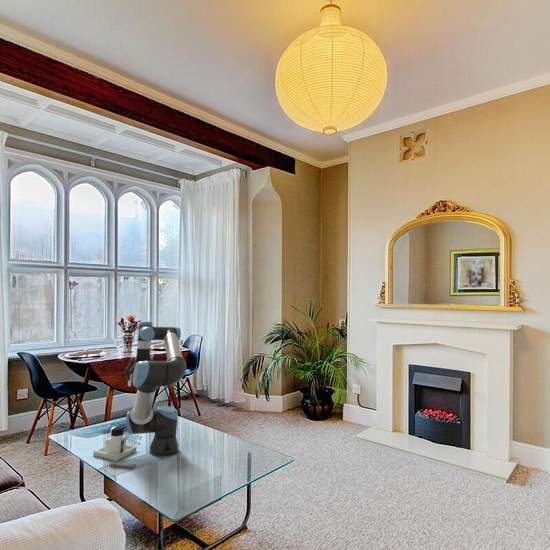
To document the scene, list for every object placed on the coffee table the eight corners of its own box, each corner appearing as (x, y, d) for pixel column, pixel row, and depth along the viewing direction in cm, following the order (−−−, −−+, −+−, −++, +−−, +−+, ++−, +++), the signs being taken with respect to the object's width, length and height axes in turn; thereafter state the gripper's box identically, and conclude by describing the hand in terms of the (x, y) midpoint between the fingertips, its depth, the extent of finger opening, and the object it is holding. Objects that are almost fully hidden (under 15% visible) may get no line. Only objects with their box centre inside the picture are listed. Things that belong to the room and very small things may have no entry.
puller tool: (135, 467, 201) (136, 464, 201) (133, 469, 199) (133, 466, 199) (112, 464, 202) (112, 461, 202) (109, 466, 200) (110, 463, 200)
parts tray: (136, 451, 220) (136, 446, 220) (116, 461, 206) (117, 456, 206) (113, 445, 225) (113, 441, 225) (93, 455, 211) (93, 450, 211)
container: (125, 450, 219) (127, 425, 219) (118, 455, 211) (120, 430, 212) (111, 448, 220) (114, 424, 220) (104, 454, 212) (106, 429, 213)
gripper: (161, 346, 248) (158, 381, 247) (119, 347, 232) (116, 385, 231) (166, 347, 242) (163, 384, 242) (125, 349, 226) (121, 388, 225)
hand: (140, 384), depth 236 cm, fingers open, 13 cm apart
